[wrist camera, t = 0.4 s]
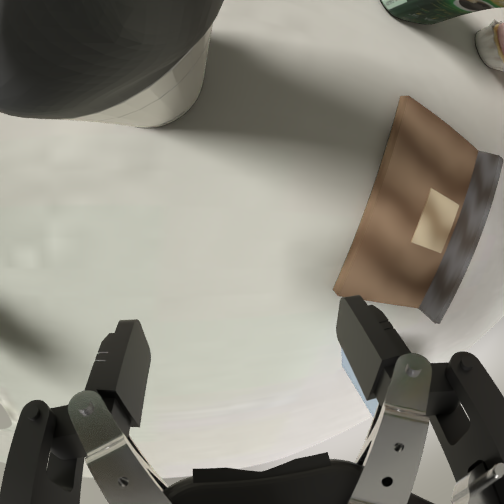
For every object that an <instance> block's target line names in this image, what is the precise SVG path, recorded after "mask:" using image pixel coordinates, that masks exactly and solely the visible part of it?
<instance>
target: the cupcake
mask: <svg viewBox="0 0 504 504" xmlns="http://www.w3.org/2000/svg"><path fill="white" fill-rule="evenodd" d="M475 42H476V47H477V50H478V53H479V55H480V57H481V59H482V60H483V62H484V63H485V64H486V65H487V66H488V67H490V68H492V69H496V70H500V71H503V72H504V23H502V21H500V22H499V23H498V22H497V21H496V20H495V19H494V20H493V22H492V23H491V24H490V25H489V26H488V27H486V28H484V29H482V30H480V31H478V32H477V33H476V37H475Z"/></svg>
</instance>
